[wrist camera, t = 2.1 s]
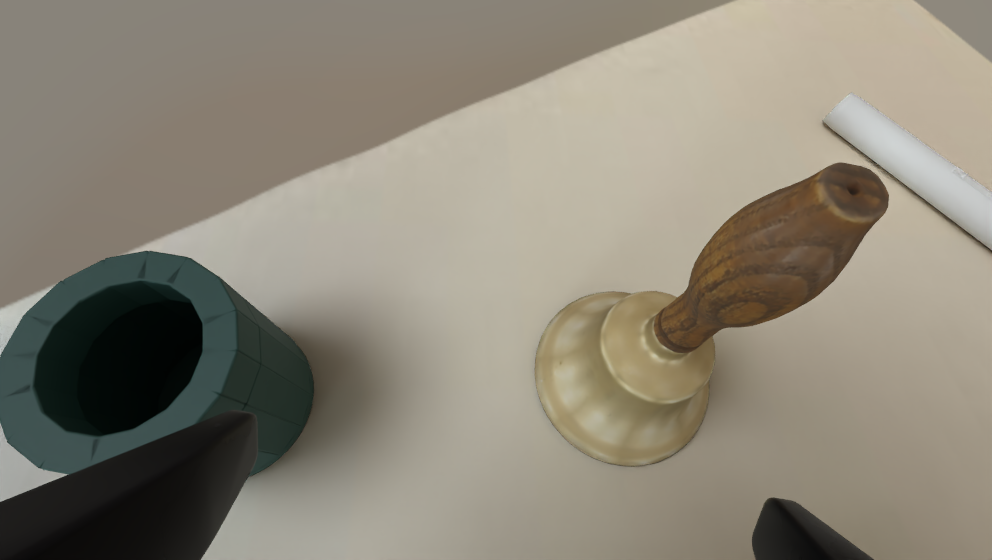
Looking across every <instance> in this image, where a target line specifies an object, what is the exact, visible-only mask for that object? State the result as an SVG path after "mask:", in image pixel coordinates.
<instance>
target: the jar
mask: <svg viewBox="0 0 992 560" xmlns="http://www.w3.org/2000/svg"><path fill="white" fill-rule="evenodd" d="M313 393H314V387H313V377H312V372H311V369H310V365H309V363H308V361H307V359H306V357H305V355H304V354H303V352H302V351H301V349H300V348H299V347H298V346H297V345H296V343H295V342H294V341H293V340H292V339H291V338H290V337H289V336H288V335H287V334H285V333H284V332H283V331H282V330H281V329H280V328H278V327H277V326H276V325H275V324H274V323H273V322H271V321H270V320H269V319H268V318H267V317H265V316H264V315H263V314H262V313H261V312H260V311H258V310H257V309H256V308H255V307H254V306H253V305H251V304H250V303H249V302H248V301H247V300H246V299H244V298H243V297H242V296H241V295H240V294H238V293H237V292H236V291H235V290H234V289H233V288H231V287H230V286H229V285H228V284H227V283H226V282H224V281H223V280H222V279H221V278H220V277H218V276H217V275H215V274H214V273H212V272H211V271H209V270H208V269H206V268H205V267H203V266H202V265H200V264H199V263H197V262H196V261H194V260H193V259H191V258H188V257H184V256H178V255H172V254H166V253H159V252H153V251H143V252H138V253H132V254H127V255H121V256H116V257H110V258H106V259H105V260H102V261H100V262H98V263H96V264H94V265H92V266H90V267H88V268H86V269H84V270H82V271H80V272H78V273H76V274H74V275H72V276H70V277H68V278H66V279H64V280H63V281H60V282H59V283H58V284H57V285H56V286H55V287H53V288H52V289H51V290H50V291H49V292H48V293H47V294H46V295H45V296H44V297H43V298H42V299H40V300H39V301H38V302H37V303H36V304H35V305H34V306H33V307H32V308H31V309H30V310H29V311H27V312H26V315H24V316H23V317H22V319H21V321H20V323H19V324H18V326H17V328H16V330H15V331H14V333H13V335H12V336H11V338H10V340H9V342H8V343H7V345H6V347H5V348H4V350H3V352H2V354H1V357H0V422H1V425H2V428H3V431H4V434H5V437H6V439H7V440H8V441H7V442H8V443H9V444H10V445H11V446H12V447H14V448H15V449H16V450H17V451H18V452H20V453H21V454H22V455H23V456H25V457H26V458H27V459H28V460H29V461H31V462H32V463H33V464H34V465H35V466H37V467H38V468H42V469H43V470H48V471H53V472H59V473H64V474H72V473H74V472H77V471H79V470H82V469H84V468H87V467H89V466H92V465H94V464H97V463H99V462H102V461H104V460H107V459H109V458H112V457H114V456H117V455H119V454H122V453H124V452H127V451H129V450H132V449H134V448H137V447H139V446H142V445H144V444H147V443H149V442H152V441H154V440H157V439H159V438H162V437H164V436H167V435H169V434H172V433H174V432H177V431H179V430H182V429H184V428H187V427H189V426H192V425H194V424H197V423H199V422H202V421H204V420H206V419H209V418H211V417H214V416H216V415H219V414H221V413H224V412H226V411H229V410H240V411H246V412H252V413H254V414H255V415H256V417H257V427H258V455H257V459H256V462H255V465H254V467H253V469H252V471H251V472H250V474H249V476H251V475H254V474H256V473H258V472H260V471H262V470H263V469H265V468H267V467H269V466H270V465H271V464H273V463H274V462H275V461H277V460H278V459H279V458H280V457H281V456H282V455H283V454H284V453H286V452H287V451H288V449H289V448H290V447H291V446H292V445H293V443H294V442H295V441H296V439H297V438H298V436H299V435H300V433H301V432H302V430H303V428H304V426H305V424H306V422H307V419H308V417H309V414H310V410H311V406H312V402H313ZM249 476H248V477H249Z"/></svg>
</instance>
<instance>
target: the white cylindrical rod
mask: <svg viewBox="0 0 992 560" xmlns="http://www.w3.org/2000/svg"><path fill="white" fill-rule="evenodd" d="M823 122H825V123H826V125H828V126H829V128H831V129H832V130H834V131H835V132H836V133H837V134H839V135H840V136H841V137H843V138H844V139H845V140H847V141H848V142H849V143H851V144H852V145H853V146H855V147H856V148H857V149H859V150H860V151H861V152H863V153H864V154H865V155H867V156H868V157H869V158H871V159H872V160H873V161H874V162H876V163H877V164H878V165H880V166H881V167H882V168H884V169H885V170H886V171H888V172H889V173H890V174H892V175H893V176H894V177H896V178H897V179H898V180H900V181H901V182H902V183H904V184H905V185H906V186H908V187H909V188H910V189H911V190H913V191H914V192H915V193H917V194H918V195H919V196H921V197H922V198H923V199H925V200H926V201H927V202H929V203H930V204H931V205H933V206H934V207H935V208H937V209H938V210H939V211H941V212H942V213H943V214H945V215H946V216H947V217H948V218H950V219H951V220H952V221H954V222H955V223H956V224H958V225H959V226H960V227H962V228H963V229H964V230H966V231H967V232H968V233H970V234H971V235H972V236H974V237H975V238H976V239H978V240H979V241H980V242H981V243H983V244H984V245H985V246H987V247H988V248H989V249H991V250H992V192H991V191H990V190H988V189H987V188H985V187H984V186H983V185H981V184H980V183H978V182H977V181H976V180H974V179H973V178H972V177H970V176H969V175H968V174H966V173H965V172H963V170H962V169H960V168H959V167H956V166H955V165H953V164H952V163H951V162H949V161H948V160H947V159H945V158H944V157H942V156H941V155H940V154H938V153H937V152H935V151H934V150H933V149H931V148H930V147H928V146H927V145H926V144H924V143H923V142H922V141H920V140H919V139H917V137H915V136H914V135H913V134H911V133H910V132H908V131H906V130H905V129H904V128H902V127H901V126H899V125H898V124H897V123H895V122H894V121H892V120H891V119H890V118H888V117H887V116H885V115H884V114H883V113H881V112H880V111H879V110H877V109H876V108H874V107H873V106H872V105H870V104H869V103H867V102H866V101H865V100H863V99H862V98H861V97H858V96H857V95H855V94H853V93H850V94H848V95H847V96H846V97H845V98H844V99H843V100H842V101H841V102H839V103H838V104H837V105H836V106H835V107H834V108H833V109H832V111H831V113H828V115H827V116H826V117H825V118H824V119H823Z"/></svg>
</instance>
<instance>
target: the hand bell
mask: <svg viewBox="0 0 992 560" xmlns="http://www.w3.org/2000/svg"><path fill="white" fill-rule="evenodd" d="M888 199H889V194H888V192H887V190H886V188H885V186H884V184H883V183H882V181H881V180H880V178H879V177H878V176H877V175H876V174H875V173H873V172H872V171H871V170H870V169H867V168H864V167H862V166H857V165H852V164H847V163H835V164H833V165H831V166H828V167H826V168H825V169H823V170H821V171H820V172H818V173H816V174H815V175H813V176H811V177H809V178H807V179H805V180H803V181H800V182H798V183H795V184H793V185H791V186H788V187H785V188H782V189H779V190H777V191H775V192H773V193H770V194H768V195H766V196H764V197H762V198H760V199H758V200H756V201H754V202H752V203H750V204H748V205H747V206H745V207H744V208H742V209H741V210H740V211H738V212H737V213H736V214H734V215H733V216H732V217H731V218H729V219H728V220H727V221H726V222H725V223H724V224H723V225H722V226H721V227H720V229H719V230H718V231H717V232H716V233H715V234H714V235H713V237H712V238H711V239H710V241H709V242H708V243H707V244H706V246H705V247H704V248H703V250H702V252H701V253H700V255H699V257H698V258H697V260H696V262H695V264H694V267H693V269H692V272H691V276H690V280H689V286H688V288H687V290H686V291H685V292H684V293H683V294H682V295H680V296H679V297H675V296H673V295H670V294H667V293H663V292H657V291H645V292H638V293H634V294H630V293H624V292H602V293H596V294H592V295H588V296H585V297H582V298H580V299H578V300H576V301H574V302H572V303H570V304H569V305H567V306H566V307H565V308H564V309H562V310H561V311H560V312H559V313H558V314H557V315H556V316H555V317H554V318H553V319H552V320H551V322H550V323H549V324H548V326H547V328H546V329H545V331H544V333H543V335H542V337H541V340H540V342H539V345H538V349H537V353H536V360H535V380H536V387H537V391H538V395H539V398H540V401H541V403H542V406H543V408H544V411H545V412H546V414H547V416H548V418H549V419H550V421H551V422H552V424H553V425H554V426H555V428H556V429H557V430H558V431H559V432H560V434H561V435H562V436H563V437H564V438H565V439H566V440H567V441H568V442H569V443H571V444H572V445H573V446H574V447H576V448H577V449H579V450H580V451H582V452H583V453H585V454H587V455H589V456H590V457H593V458H595V459H597V460H600V461H603V462H606V463H610V464H615V465H622V466H641V465H648V464H653V463H656V462H659V461H661V460H663V459H665V458H668V457H670V456H672V455H673V454H675V453H676V452H678V451H679V450H680V449H681V448H683V447H684V446H685V445H686V444H687V443H688V442H689V441H690V440H691V439H692V438H693V436H694V435H695V433H696V432H697V430H698V428H699V427H700V425H701V423H702V421H703V418H704V415H705V412H706V409H707V405H708V398H709V378H710V376H711V374H712V371H713V367H714V363H715V345H714V341H713V337H712V336H713V335H714V334H715V333H717V332H718V331H719V330H721V329H723V328H728V327H746V326H753V325H756V324H760V323H763V322H766V321H769V320H773V319H775V318H778V317H780V316H782V315H784V314H786V313H789V312H791V311H793V310H795V309H796V308H798V307H800V306H802V305H804V304H805V303H807V302H809V301H810V300H812V299H814V298H815V297H816V296H818V295H819V294H820V293H821V292H822V291H823V290H824V289H826V288H827V287H828V286H829V285H830V284H831V283H832V282H833V281H834V280H835V279H836V278H837V276H838V275H839V274H840V272H841V271H842V270H843V269H844V267H845V266H846V265H847V263H848V262H849V261H850V259H851V257H852V256H853V254H854V252H855V251H856V249H857V247H858V246H859V244H860V242H861V241H862V239H863V237H864V236H865V235H866V233H867V232H868V231H869V230H870V229H871V227H872V226H873V225H874V224H875V223H876V222H877V221H878V220H879V219H880V218H881V217H882V216H883V215H884V213H885V212H886V210H887V208H888Z"/></svg>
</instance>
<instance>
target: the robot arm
mask: <svg viewBox="0 0 992 560" xmlns="http://www.w3.org/2000/svg"><path fill="white" fill-rule="evenodd" d="M257 455H258V427H257V417H256V415H255V414H254V413H252V412H246V411H240V410H229V411H226V412H224V413H221V414H219V415H216V416H214V417H211V418H209V419H206V420H204V421H202V422H199V423H197V424H194V425H192V426H189V427H187V428H184V429H182V430H179V431H177V432H174V433H172V434H169V435H167V436H164V437H162V438H159V439H157V440H154V441H152V442H149V443H147V444H144V445H142V446H139V447H137V448H134V449H132V450H129V451H127V452H124V453H122V454H119V455H117V456H114V457H112V458H109V459H107V460H104V461H102V462H99V463H97V464H94V465H92V466H89V467H87V468H84V469H82V470H79V471H77V472H74V473H72V474H69V475H67V476H64V477H62V478H59V479H57V480H54V481H52V482H49V483H47V484H44V485H42V486H39V487H37V488H34V489H32V490H29V491H27V492H24V493H22V494H19V495H17V496H14V497H12V498H9V499H7V500H4V501H2V502H0V560H201V558H202V557H203V555H204V554H205V552H206V551H207V549H208V548H209V546H210V544H211V543H212V541H213V539H214V537H215V536H216V534H217V532H218V530H219V529H220V527H221V525H222V523H223V521H224V520H225V518H226V516H227V514H228V512H229V510H230V509H231V507H232V505H233V503H234V501H235V500H236V498H237V496H238V494H239V492H240V491H241V489H242V487H243V485H244V483H245V481H246V480H247V478H248V476H249V474H250V472H251V471H252V469H253V467H254V465H255V462H256V459H257ZM752 547H753V552H754V555H755V559H756V560H874V559H872V558H871V557H870V556H868V555H867V554H866V553H864V552H863V551H861V550H860V549H859V548H857V547H856V546H855V545H853V544H852V543H851V542H849V541H848V540H847V539H845V538H844V537H843V536H841V535H840V534H838V533H837V532H836V531H834V530H833V529H832V528H830V527H829V526H828V525H826V524H825V523H824V522H822V521H821V520H820V519H818V518H817V517H816V516H814V515H813V514H811V513H810V512H809V511H807V510H806V509H805V508H803V507H802V506H801V505H799V504H798V503H796V502H794V501H791V500H785V499H779V498H769V499H768V500H767V501H766V502H765V503H764V506H763V508H762V511H761V513H760V516H759V519H758V521H757V524H756V526H755V529H754V532H753V536H752Z"/></svg>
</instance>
